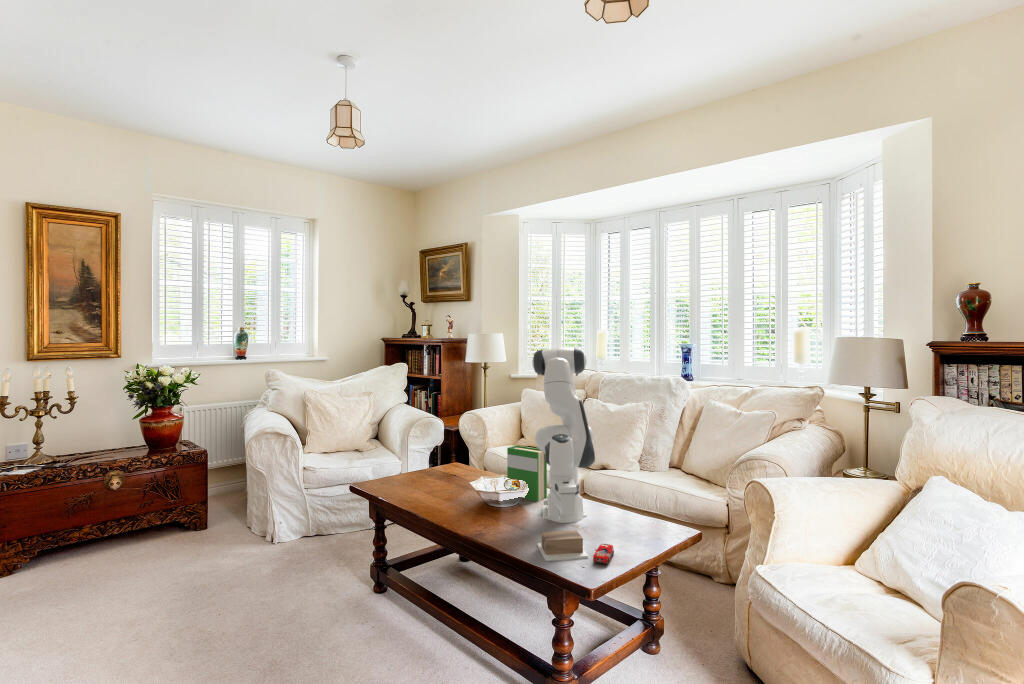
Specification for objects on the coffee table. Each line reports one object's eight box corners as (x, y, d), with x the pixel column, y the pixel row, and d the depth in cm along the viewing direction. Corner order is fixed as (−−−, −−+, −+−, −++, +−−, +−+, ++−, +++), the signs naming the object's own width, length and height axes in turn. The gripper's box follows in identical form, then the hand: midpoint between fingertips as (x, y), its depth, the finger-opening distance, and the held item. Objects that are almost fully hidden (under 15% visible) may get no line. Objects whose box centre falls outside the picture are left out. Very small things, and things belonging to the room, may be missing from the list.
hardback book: (546, 501, 250) (546, 449, 249) (537, 505, 244) (537, 452, 244) (517, 494, 261) (516, 445, 260) (507, 498, 255) (507, 447, 255)
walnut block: (541, 546, 192) (541, 532, 192) (576, 543, 194) (576, 530, 194) (546, 555, 184) (546, 540, 184) (582, 552, 186) (582, 538, 186)
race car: (607, 566, 176) (607, 554, 176) (591, 563, 178) (591, 551, 178) (616, 553, 188) (616, 541, 188) (600, 550, 190) (601, 539, 190)
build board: (537, 546, 195) (537, 543, 195) (576, 543, 197) (576, 540, 197) (545, 562, 181) (545, 558, 181) (588, 559, 183) (588, 555, 183)
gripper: (546, 474, 199) (546, 511, 199) (559, 489, 178) (560, 531, 178) (562, 473, 200) (563, 510, 200) (578, 488, 179) (578, 530, 179)
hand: (561, 520), depth 189 cm, fingers closed
